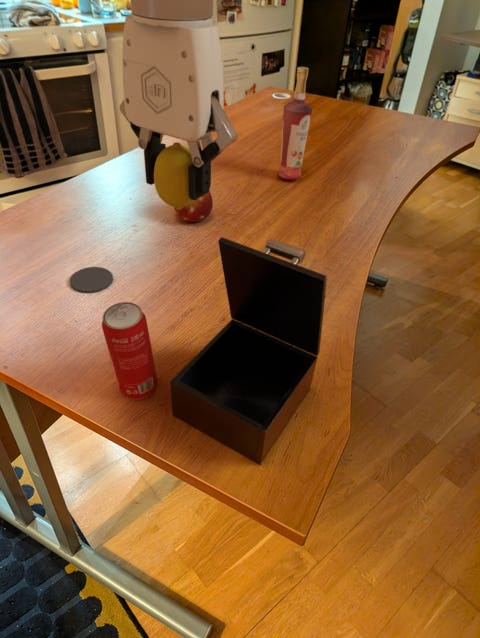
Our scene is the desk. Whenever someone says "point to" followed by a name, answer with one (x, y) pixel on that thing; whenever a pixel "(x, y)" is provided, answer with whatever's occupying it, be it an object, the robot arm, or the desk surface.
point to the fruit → (197, 209)
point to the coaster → (91, 279)
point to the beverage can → (130, 349)
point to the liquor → (295, 130)
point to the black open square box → (243, 388)
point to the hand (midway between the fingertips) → (177, 186)
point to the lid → (275, 292)
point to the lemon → (173, 175)
